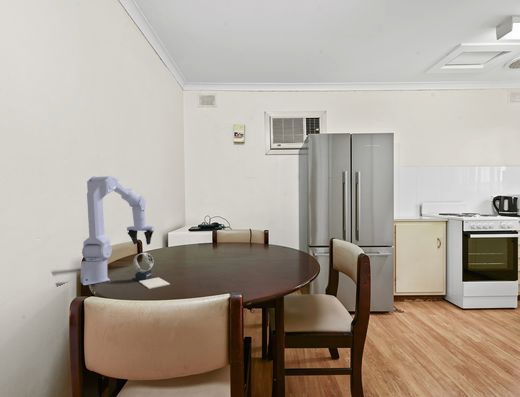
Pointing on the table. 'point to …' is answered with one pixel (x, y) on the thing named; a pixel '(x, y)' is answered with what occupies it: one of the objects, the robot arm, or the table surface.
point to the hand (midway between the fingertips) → (142, 244)
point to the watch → (143, 273)
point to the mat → (154, 283)
